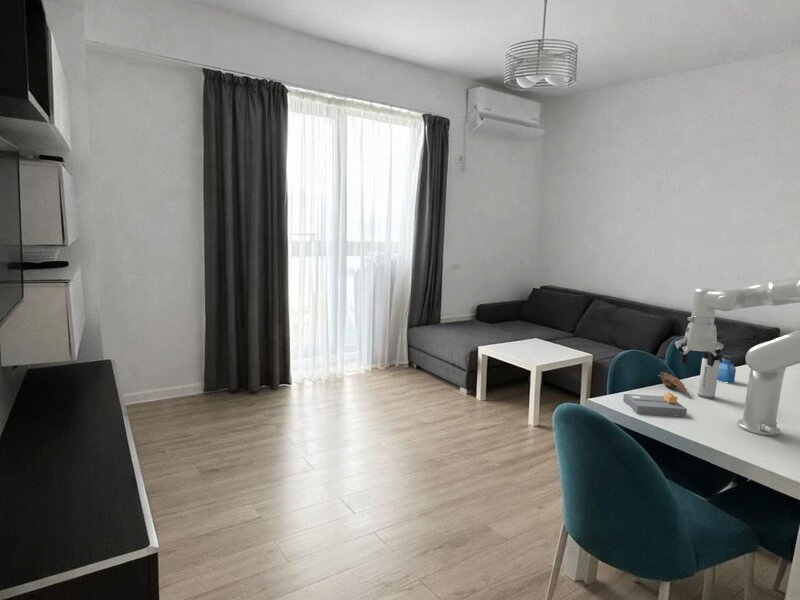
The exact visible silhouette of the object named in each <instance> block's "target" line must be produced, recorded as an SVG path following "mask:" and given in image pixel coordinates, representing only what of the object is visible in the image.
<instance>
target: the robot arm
mask: <svg viewBox="0 0 800 600" xmlns="http://www.w3.org/2000/svg"><path fill="white" fill-rule="evenodd" d="M692 299H693V301H692V309H691V310H692V311H691V315H690V316H688V317H687V318H686V319H687V321H689V322H688V324H687V326H686V327H687V328H686V331H685V334H684V338H681V339H679V340H677V341H675V343H674V345H675V347H676V349H677V350H678V352H679V353H680V359H679V361H680V364H681V365H684V366H686V365H687V362H688V353H689V352H690V351H691V352H692V351H694V352H703V351H706V352H709V353H710V354H709V355H708V360H707V364H708V365H709V366H713V364H714V361H715V356H717V354H718V353H720V354H721V351H722V349H723V348H724V346H725V345H724V344H723V343H722V342H720V341H717V339H718V338H717V337H718V336H717V335H718V332H717V326H716V324H715V317H716V311H723V312H731V311H735V310H739V309H746V308H753V307H762V306H763V307H764V306H771V307H776V306H777V307H778V306H784V305H791V304H799V303H800V276H796V277H795V276H794V277H790V278H783V279H778V280H773V281H768V282H765V283H762V284H758V285H752V286H746V287H741V288H734V289H727V290H716V289H714V288H707V287H698V288H695V290H694V293H693V298H692ZM682 344H683V347H682ZM745 364H746V365H747V367H748V368H750V371H749V376H748V377H749V378H748V383H747V389H746V395H745V402H744V407H743V408H744V409H743V415H742V419H738V420H736V425H737V426H738V427H739V428H740V429H742V430H744V431H747V432H751V433H753V434H758V435H762V436H763V435H764V436H778V435H780V434H781V429H780V428H779V427H777V425H778V422H777V417H778V412H779V405H780V398H781V393H782V387H783V381H784V376H785V371H786V368H788V367H791V366H794V365H798V364H800V329H799V330H794V331H792V332H789V333H787V334H784V335H782V336H779V337H776V338H774V339H771V340H768V341H763V342H760V343H759V344H756V345H754V346H752V347H751V348H749V349H748V351H746V354H745Z"/></svg>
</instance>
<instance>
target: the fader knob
mask: <svg viewBox="0 0 800 600" xmlns="http://www.w3.org/2000/svg"><path fill="white" fill-rule="evenodd" d="M664 400H665V401H667V402H668V403H677V402H678V396H677V395H676V394H674V393H671V392H665V393H664Z"/></svg>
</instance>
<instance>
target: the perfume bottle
mask: <svg viewBox="0 0 800 600" xmlns="http://www.w3.org/2000/svg"><path fill="white" fill-rule="evenodd" d="M731 358H732V357H731V356H730V355H726V354H723V355H722V358H721V361H720V363H719V370H718V377H717V380H719V381H718V382H720V381H723V382H731V383H735V379H736V374H737V373H736V371H737V369H736V367H735V365H734V363H730V362H731V361H732V359H731ZM723 382H722V383H723Z"/></svg>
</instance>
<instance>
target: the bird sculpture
mask: <svg viewBox="0 0 800 600" xmlns="http://www.w3.org/2000/svg"><path fill="white" fill-rule="evenodd" d="M657 376H658V377H660V380H661V381H662V383H663V385H664V386H665V387H668V388H672V387H673V388H678V389H680V390H681V391H682V392H684V393H686V392H687V391H688V390H687V388H686V387H685V384H684V383H683V382H682V381H681V379H679V378H678V377H676V376H674V375H672V374H669V373H668V372H666V371H662V372H660V374H658V375H657Z"/></svg>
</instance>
